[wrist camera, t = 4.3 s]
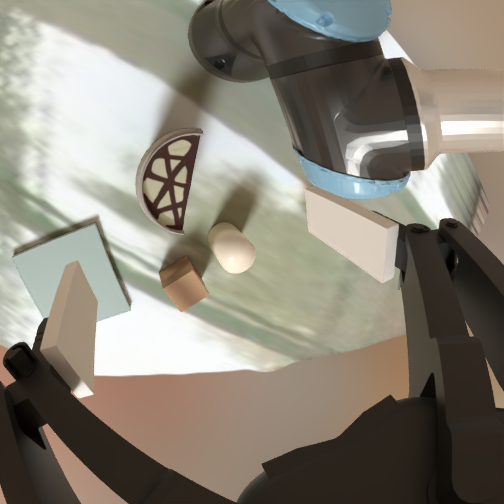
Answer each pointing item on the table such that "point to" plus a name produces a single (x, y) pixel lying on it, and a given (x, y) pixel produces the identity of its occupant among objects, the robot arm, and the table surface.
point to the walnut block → (183, 284)
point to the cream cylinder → (231, 247)
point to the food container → (168, 178)
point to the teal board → (53, 264)
